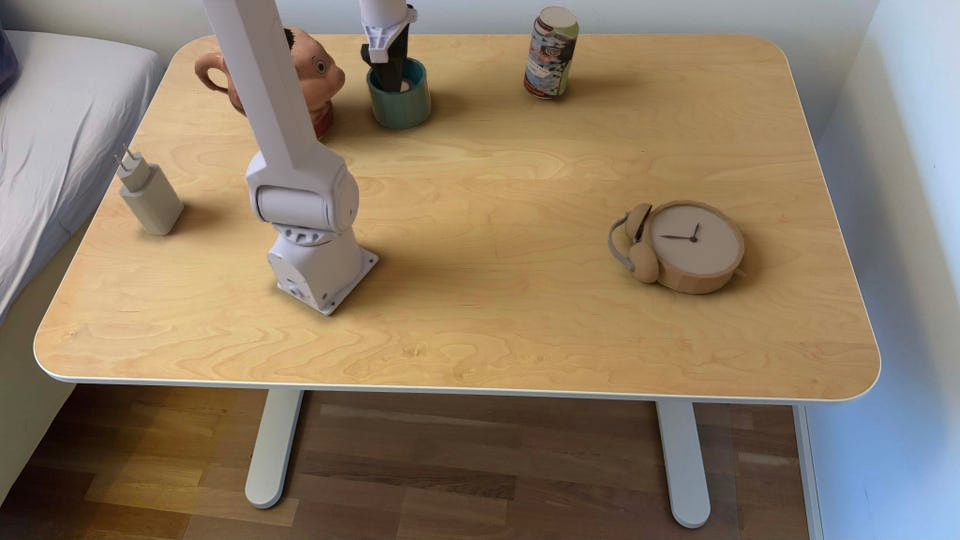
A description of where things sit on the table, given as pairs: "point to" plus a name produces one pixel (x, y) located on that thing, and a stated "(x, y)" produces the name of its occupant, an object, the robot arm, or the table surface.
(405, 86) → the tape roll
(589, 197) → the table surface
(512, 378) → the table surface
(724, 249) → the alarm clock
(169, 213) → the power adapter
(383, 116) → the cup
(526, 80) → the beverage can
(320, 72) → the decorative planter
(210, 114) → the table surface
